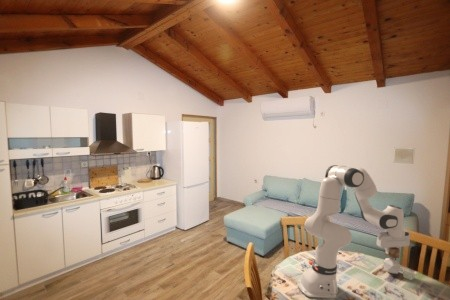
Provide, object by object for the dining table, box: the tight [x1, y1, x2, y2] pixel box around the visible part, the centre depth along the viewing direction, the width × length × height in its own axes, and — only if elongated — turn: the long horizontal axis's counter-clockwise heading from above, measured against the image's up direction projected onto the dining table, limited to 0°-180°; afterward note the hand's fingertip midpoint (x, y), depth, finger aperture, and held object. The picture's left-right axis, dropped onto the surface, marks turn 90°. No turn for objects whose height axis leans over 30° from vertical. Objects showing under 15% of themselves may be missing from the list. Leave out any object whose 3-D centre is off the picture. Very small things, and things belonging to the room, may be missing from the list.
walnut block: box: [384, 247, 401, 259], centre depth 137 cm, size 5×5×6 cm
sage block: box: [402, 269, 415, 281], centre depth 133 cm, size 4×4×4 cm
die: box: [382, 257, 401, 275], centre depth 138 cm, size 8×9×10 cm
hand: (392, 253), depth 137 cm, fingers closed on walnut block, 5 cm apart
